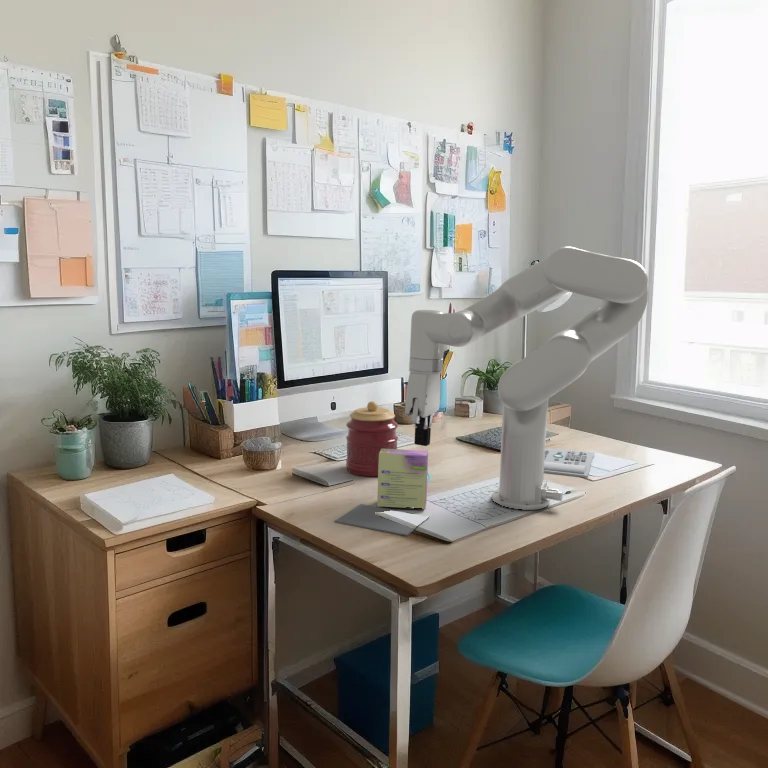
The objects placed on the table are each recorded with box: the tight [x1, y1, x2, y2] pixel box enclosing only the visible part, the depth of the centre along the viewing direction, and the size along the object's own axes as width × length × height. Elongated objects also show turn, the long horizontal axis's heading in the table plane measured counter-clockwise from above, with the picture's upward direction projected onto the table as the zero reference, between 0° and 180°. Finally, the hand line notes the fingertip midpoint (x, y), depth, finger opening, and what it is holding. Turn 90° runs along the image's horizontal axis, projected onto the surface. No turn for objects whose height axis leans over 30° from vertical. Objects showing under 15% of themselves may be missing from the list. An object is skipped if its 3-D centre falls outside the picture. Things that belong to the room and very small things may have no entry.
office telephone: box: [544, 447, 596, 479], centre depth 194 cm, size 23×3×20 cm
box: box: [376, 448, 429, 510], centre depth 157 cm, size 10×6×12 cm, turn 84°
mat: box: [334, 503, 415, 537], centre depth 149 cm, size 16×12×1 cm
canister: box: [345, 400, 399, 477], centre depth 182 cm, size 13×13×18 cm
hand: (422, 444), depth 166 cm, fingers closed
